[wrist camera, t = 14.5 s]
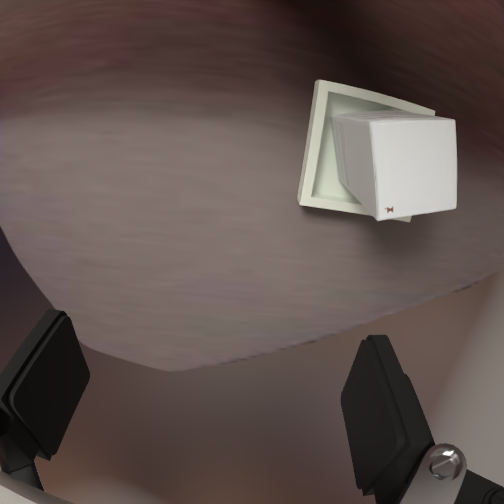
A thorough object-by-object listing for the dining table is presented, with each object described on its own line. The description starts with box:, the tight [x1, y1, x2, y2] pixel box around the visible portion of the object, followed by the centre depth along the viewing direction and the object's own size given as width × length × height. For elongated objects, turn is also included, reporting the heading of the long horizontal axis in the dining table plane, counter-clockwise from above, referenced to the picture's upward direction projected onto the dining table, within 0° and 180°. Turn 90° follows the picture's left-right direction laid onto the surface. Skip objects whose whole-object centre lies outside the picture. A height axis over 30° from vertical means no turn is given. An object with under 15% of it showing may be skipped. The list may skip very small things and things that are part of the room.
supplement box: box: [330, 110, 457, 221], centre depth 25 cm, size 7×7×13 cm
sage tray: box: [297, 80, 435, 222], centre depth 31 cm, size 13×13×2 cm
